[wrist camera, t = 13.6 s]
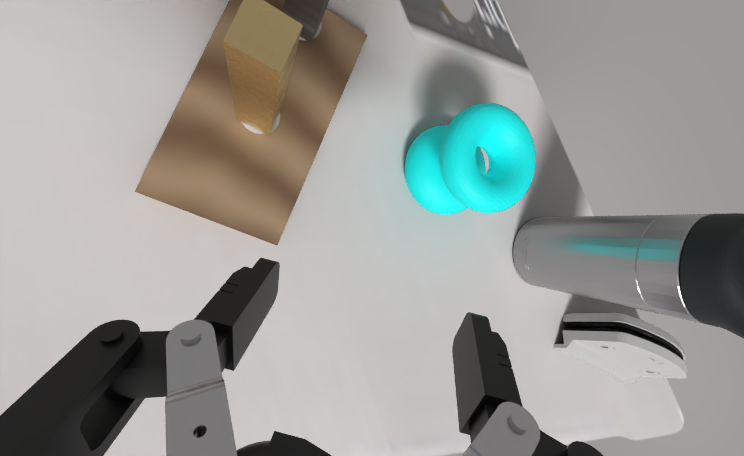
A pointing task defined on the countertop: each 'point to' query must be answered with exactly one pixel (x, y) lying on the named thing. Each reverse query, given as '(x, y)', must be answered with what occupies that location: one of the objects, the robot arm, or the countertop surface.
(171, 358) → the robot arm
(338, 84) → the brown wooden stand
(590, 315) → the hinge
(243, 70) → the brass leg
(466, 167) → the donuts
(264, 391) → the countertop surface
